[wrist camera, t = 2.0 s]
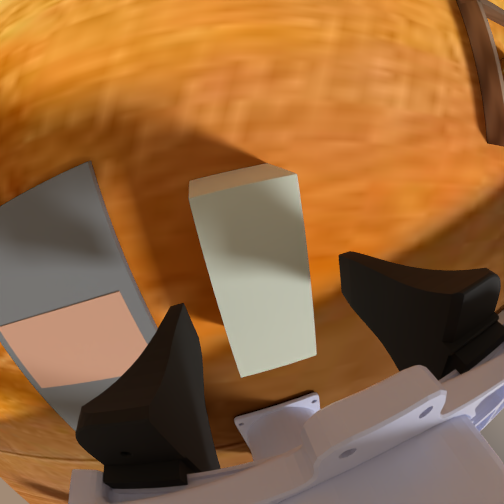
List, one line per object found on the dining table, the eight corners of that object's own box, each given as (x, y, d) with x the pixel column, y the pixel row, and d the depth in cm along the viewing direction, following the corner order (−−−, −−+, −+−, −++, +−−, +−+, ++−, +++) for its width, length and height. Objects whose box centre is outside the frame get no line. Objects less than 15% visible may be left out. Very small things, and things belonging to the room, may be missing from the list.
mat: (207, 415, 23) (208, 421, 22) (82, 432, 21) (81, 437, 21) (90, 160, 14) (86, 161, 13) (-47, 238, 12) (-52, 241, 12)
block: (289, 308, 20) (316, 354, 15) (228, 325, 20) (241, 377, 15) (266, 163, 16) (296, 174, 11) (189, 180, 15) (188, 198, 11)
